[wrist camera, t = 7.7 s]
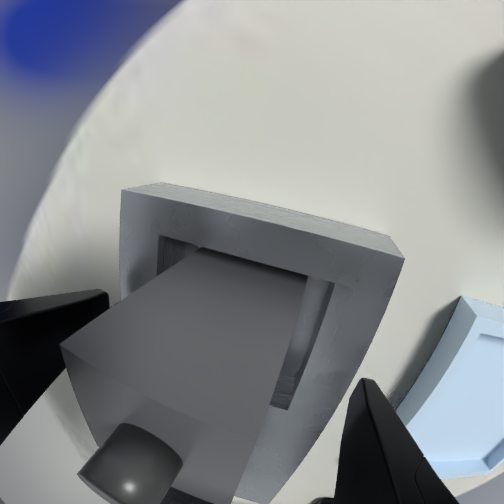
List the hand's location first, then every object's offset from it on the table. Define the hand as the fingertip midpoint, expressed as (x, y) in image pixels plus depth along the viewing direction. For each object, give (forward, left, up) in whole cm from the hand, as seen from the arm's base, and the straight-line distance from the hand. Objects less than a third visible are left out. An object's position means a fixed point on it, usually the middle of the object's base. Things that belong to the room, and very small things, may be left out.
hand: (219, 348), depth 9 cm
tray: (-3, -14, -3) cm, 15 cm away
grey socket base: (-5, 0, -3) cm, 6 cm away
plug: (0, 0, -3) cm, 3 cm away
